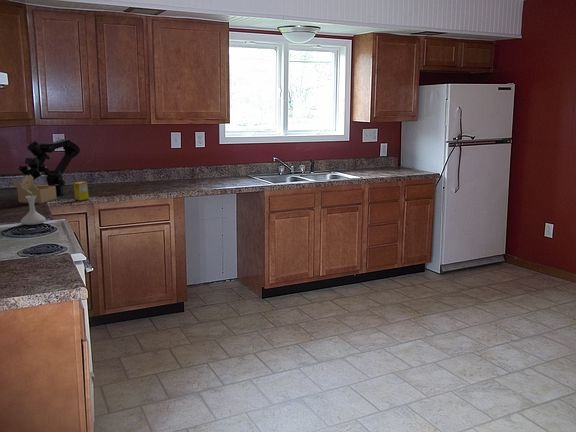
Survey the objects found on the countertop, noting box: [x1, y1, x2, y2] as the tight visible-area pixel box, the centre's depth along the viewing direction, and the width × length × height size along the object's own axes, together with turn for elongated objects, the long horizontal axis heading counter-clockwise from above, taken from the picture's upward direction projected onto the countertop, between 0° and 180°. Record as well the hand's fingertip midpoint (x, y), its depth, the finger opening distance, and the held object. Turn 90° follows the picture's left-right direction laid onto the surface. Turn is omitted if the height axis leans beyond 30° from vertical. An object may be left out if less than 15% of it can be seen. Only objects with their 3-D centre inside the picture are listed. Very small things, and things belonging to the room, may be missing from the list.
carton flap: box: [11, 179, 38, 190], centre depth 327 cm, size 7×14×1 cm
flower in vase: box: [20, 175, 46, 226], centre depth 276 cm, size 13×11×25 cm
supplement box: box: [73, 181, 90, 202], centre depth 338 cm, size 6×6×11 cm
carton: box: [16, 184, 58, 205], centre depth 338 cm, size 15×16×8 cm
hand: (28, 182), depth 330 cm, fingers closed
